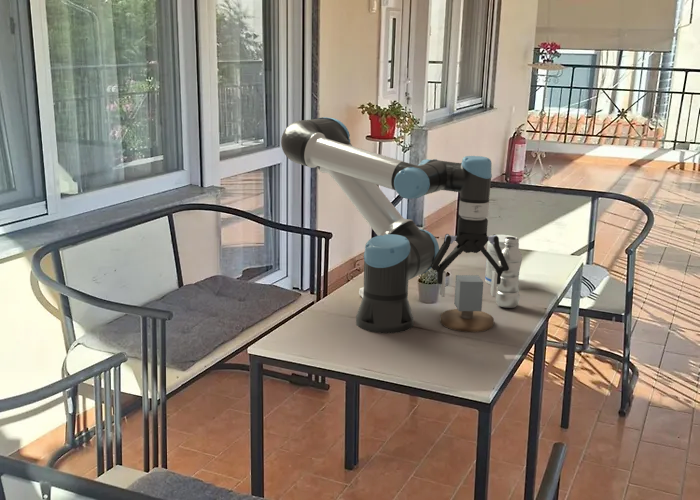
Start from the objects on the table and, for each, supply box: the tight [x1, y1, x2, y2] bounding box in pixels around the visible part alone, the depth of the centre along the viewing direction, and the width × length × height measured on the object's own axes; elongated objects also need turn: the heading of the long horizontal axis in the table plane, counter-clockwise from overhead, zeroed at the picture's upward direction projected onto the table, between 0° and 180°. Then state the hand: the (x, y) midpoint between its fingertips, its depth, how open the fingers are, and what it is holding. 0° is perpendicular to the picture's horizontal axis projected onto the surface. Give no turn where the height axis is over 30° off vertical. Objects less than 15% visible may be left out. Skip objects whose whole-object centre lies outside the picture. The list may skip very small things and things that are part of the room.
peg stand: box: [439, 308, 495, 333], centre depth 209 cm, size 14×14×12 cm
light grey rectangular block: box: [454, 274, 484, 311], centre depth 208 cm, size 6×6×8 cm
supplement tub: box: [484, 234, 520, 288], centre depth 243 cm, size 10×10×15 cm
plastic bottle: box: [494, 236, 523, 309], centre depth 221 cm, size 6×7×20 cm
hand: (467, 295), depth 208 cm, fingers open, 13 cm apart
